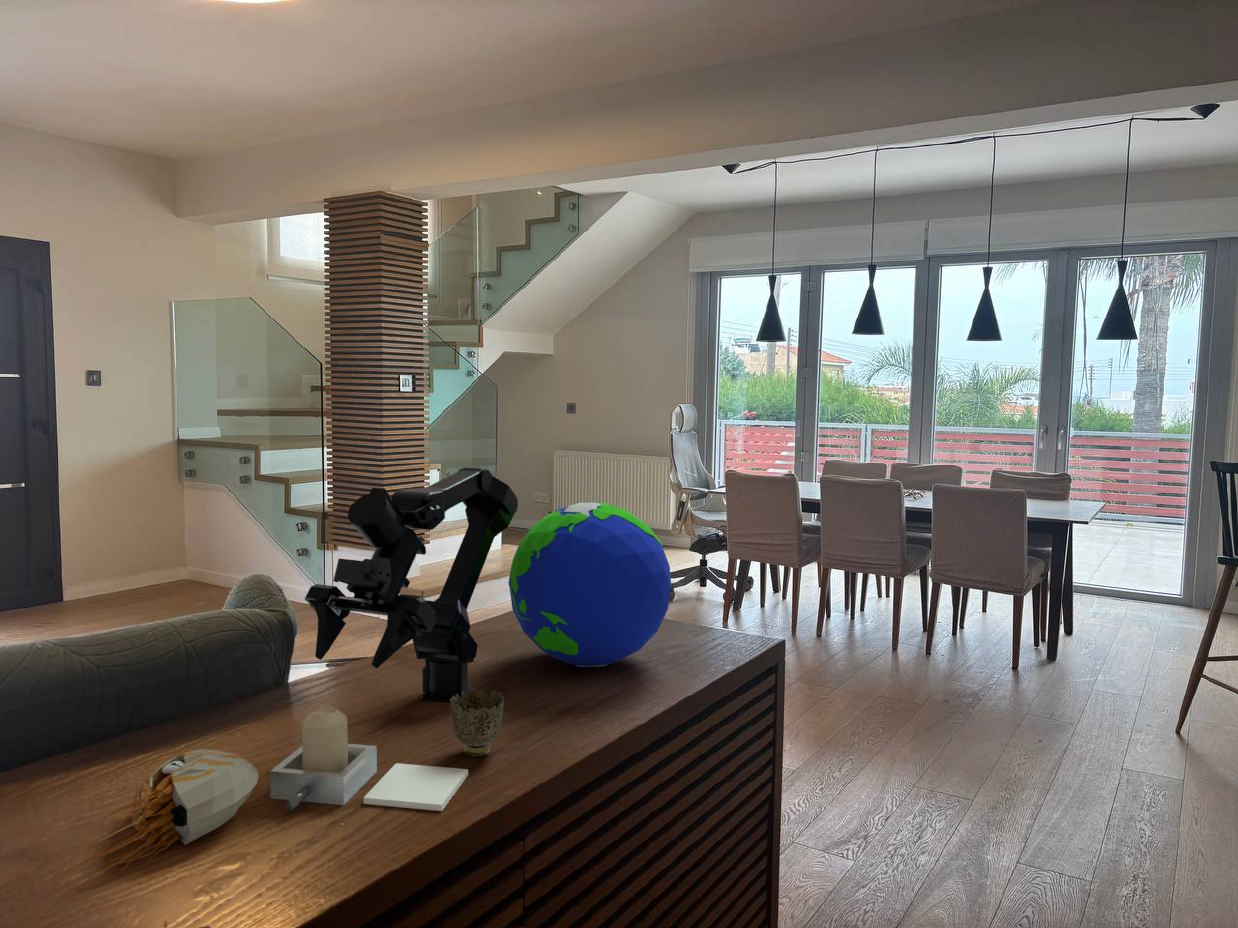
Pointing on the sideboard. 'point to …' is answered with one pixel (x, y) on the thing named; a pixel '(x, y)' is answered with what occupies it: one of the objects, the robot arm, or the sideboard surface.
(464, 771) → the tile
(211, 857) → the sideboard surface
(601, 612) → the globe
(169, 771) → the nautilus
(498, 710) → the cup
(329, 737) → the candle
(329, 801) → the small drawer with knob
